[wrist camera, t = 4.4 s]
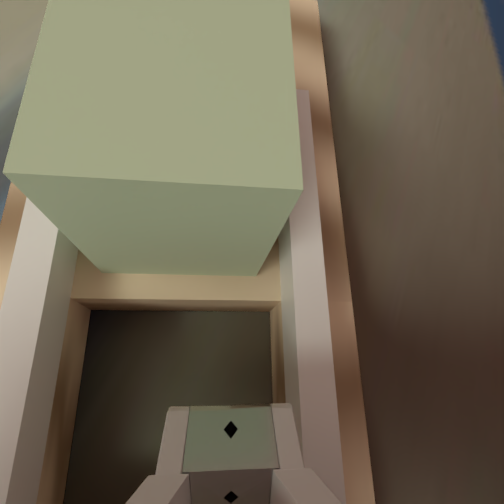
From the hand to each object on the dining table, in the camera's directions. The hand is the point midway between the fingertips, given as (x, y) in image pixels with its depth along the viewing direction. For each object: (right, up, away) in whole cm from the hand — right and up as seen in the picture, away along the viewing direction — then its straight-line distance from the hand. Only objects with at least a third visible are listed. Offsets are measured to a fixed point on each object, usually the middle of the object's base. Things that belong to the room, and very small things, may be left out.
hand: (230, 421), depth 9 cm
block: (-2, +6, +6) cm, 9 cm away
